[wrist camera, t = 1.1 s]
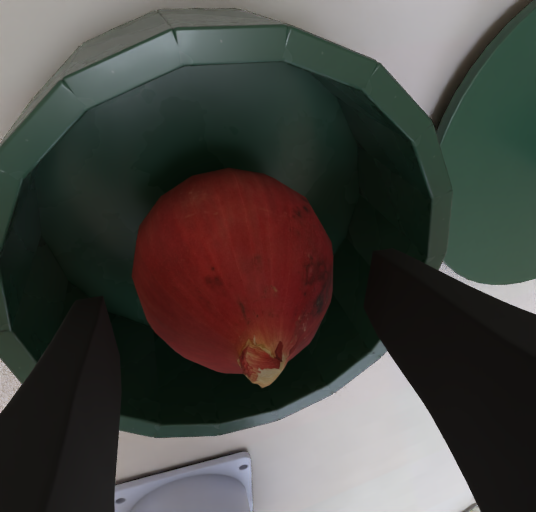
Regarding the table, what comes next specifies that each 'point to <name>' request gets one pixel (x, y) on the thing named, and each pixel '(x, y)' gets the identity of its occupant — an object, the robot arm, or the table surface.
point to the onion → (234, 272)
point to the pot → (201, 161)
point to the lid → (494, 160)
